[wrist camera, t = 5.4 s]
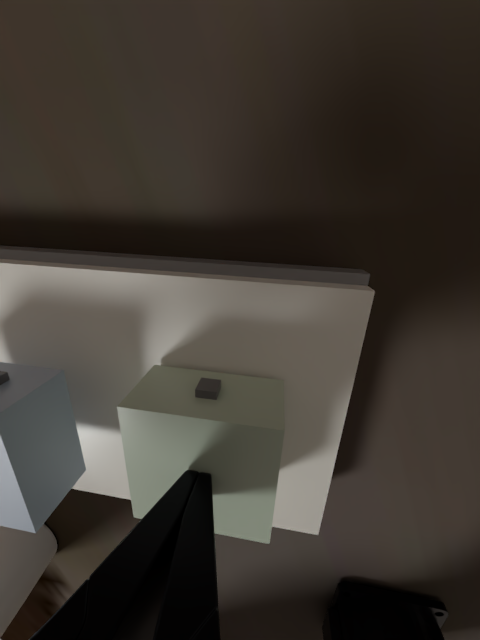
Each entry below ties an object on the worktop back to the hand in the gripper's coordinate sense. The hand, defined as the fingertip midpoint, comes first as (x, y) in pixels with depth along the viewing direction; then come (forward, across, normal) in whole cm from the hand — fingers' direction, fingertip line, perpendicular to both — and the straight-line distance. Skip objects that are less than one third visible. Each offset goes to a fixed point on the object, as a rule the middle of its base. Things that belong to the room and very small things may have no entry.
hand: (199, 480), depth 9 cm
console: (+5, +8, 0) cm, 10 cm away
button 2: (+1, +8, 0) cm, 8 cm away
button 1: (+3, 0, 0) cm, 3 cm away
